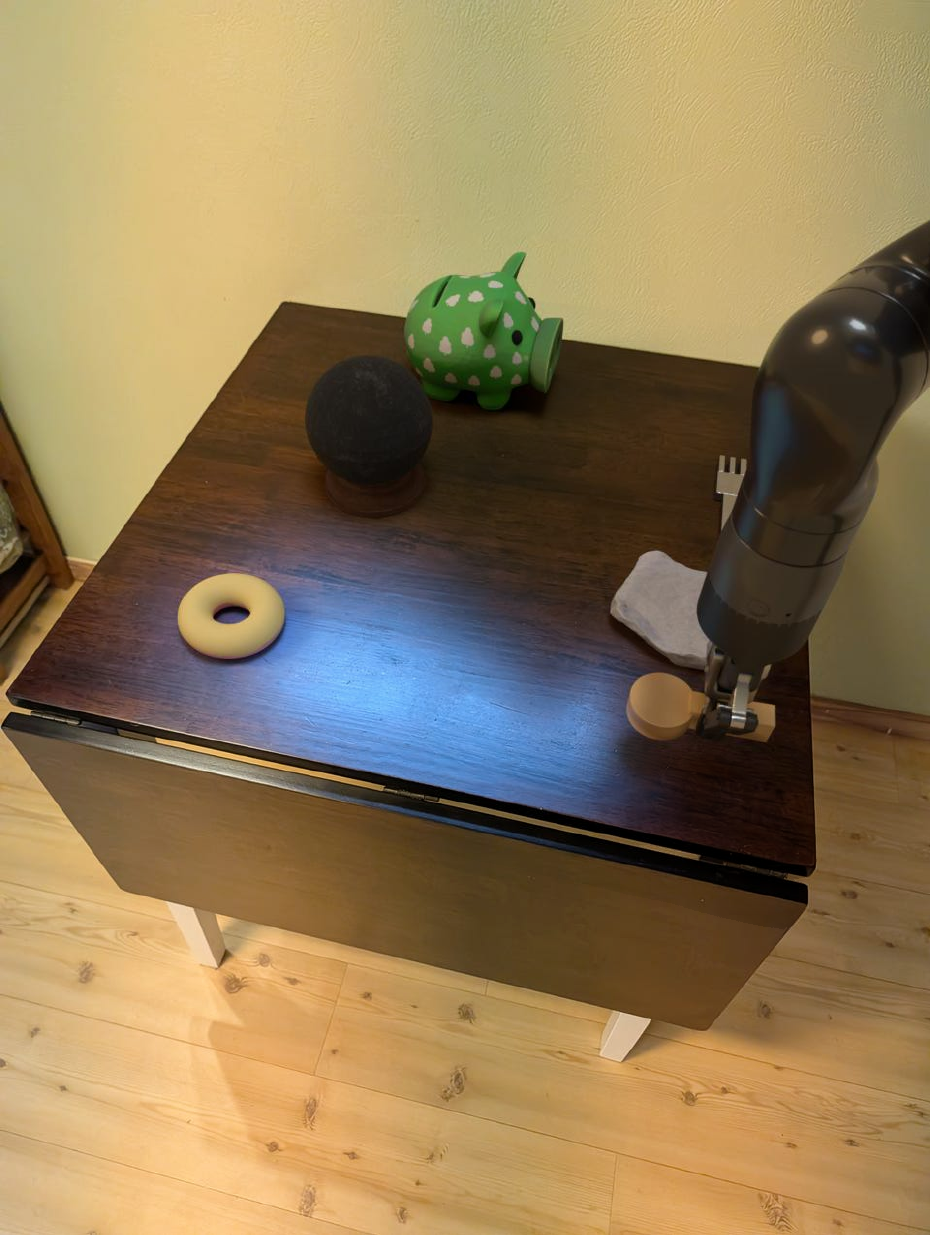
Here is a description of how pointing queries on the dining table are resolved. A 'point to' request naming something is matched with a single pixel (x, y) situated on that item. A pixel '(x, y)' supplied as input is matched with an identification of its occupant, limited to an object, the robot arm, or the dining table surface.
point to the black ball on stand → (370, 435)
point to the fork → (727, 486)
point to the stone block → (664, 608)
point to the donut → (231, 637)
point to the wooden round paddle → (680, 709)
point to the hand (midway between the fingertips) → (709, 720)
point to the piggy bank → (481, 337)
